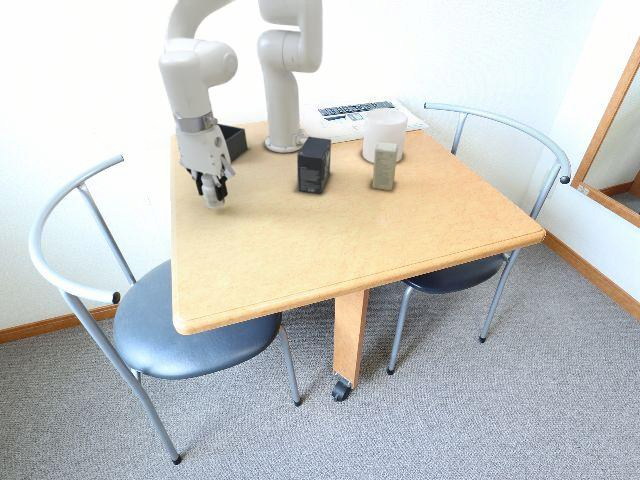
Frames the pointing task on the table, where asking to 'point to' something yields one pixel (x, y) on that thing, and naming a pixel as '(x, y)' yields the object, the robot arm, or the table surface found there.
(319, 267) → the table surface
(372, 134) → the cup
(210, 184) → the pill bottle
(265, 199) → the table surface
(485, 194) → the table surface
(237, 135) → the bin
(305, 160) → the box
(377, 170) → the box
